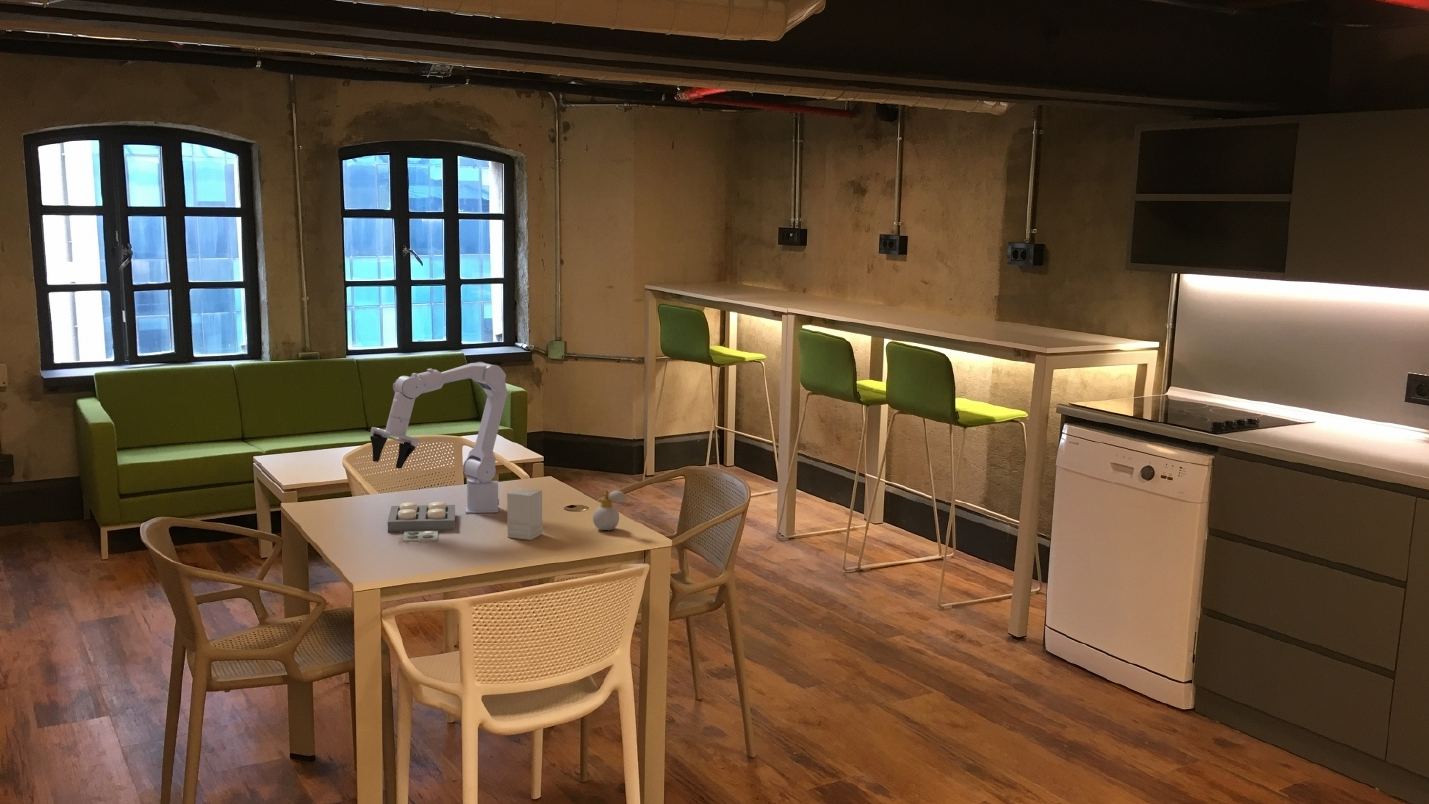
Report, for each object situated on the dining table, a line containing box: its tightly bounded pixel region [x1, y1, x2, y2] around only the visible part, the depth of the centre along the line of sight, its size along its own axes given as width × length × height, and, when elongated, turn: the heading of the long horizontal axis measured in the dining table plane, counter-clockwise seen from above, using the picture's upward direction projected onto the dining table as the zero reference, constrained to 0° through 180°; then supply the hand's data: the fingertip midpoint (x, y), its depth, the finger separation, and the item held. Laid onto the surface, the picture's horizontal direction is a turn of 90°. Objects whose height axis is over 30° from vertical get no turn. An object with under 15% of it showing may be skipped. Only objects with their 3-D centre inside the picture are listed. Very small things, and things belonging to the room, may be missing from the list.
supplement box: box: [506, 487, 543, 541], centre depth 323 cm, size 7×7×13 cm
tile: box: [402, 530, 439, 543], centre depth 320 cm, size 9×9×1 cm
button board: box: [387, 504, 456, 533], centre depth 334 cm, size 18×18×3 cm
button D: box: [428, 501, 447, 512], centre depth 338 cm, size 5×5×3 cm
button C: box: [399, 502, 418, 512], centre depth 336 cm, size 5×5×3 cm
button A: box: [398, 509, 416, 520], centre depth 329 cm, size 5×5×3 cm
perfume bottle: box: [592, 489, 626, 531], centre depth 332 cm, size 8×10×12 cm
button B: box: [428, 509, 445, 519], centre depth 330 cm, size 5×5×3 cm
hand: (386, 464), depth 330 cm, fingers open, 7 cm apart
